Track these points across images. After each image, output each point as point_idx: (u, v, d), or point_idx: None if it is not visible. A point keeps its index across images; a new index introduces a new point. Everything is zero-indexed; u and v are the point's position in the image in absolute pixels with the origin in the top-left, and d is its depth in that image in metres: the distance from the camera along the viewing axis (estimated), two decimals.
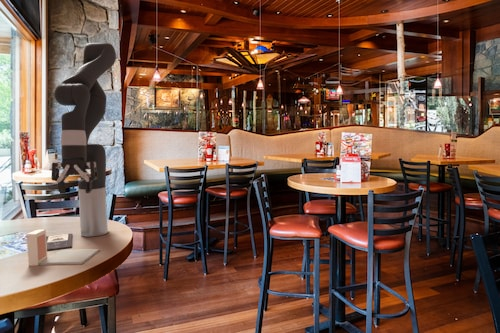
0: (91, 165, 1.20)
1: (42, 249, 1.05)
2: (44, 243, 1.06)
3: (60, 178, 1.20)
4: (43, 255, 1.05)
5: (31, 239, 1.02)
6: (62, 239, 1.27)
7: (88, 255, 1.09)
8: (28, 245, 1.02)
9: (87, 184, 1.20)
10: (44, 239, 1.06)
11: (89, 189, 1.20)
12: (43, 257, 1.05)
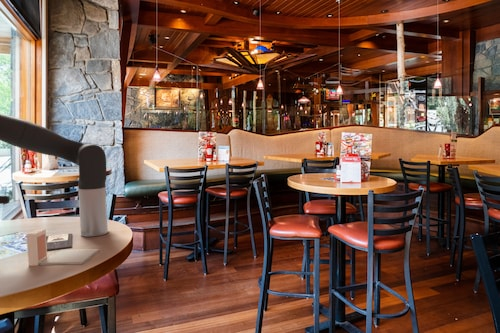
0: None
1: (42, 249, 1.05)
2: (44, 243, 1.06)
3: None
4: (43, 255, 1.05)
5: (31, 239, 1.02)
6: (62, 239, 1.27)
7: (88, 255, 1.09)
8: (28, 245, 1.02)
9: None
10: (44, 239, 1.06)
11: None
12: (43, 257, 1.05)
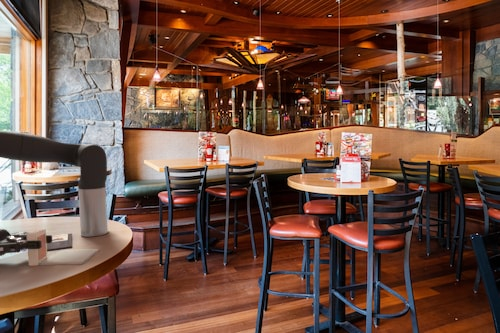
0: None
1: (42, 249, 1.05)
2: (44, 243, 1.06)
3: None
4: (43, 255, 1.05)
5: (31, 239, 1.02)
6: (62, 239, 1.27)
7: (88, 255, 1.09)
8: None
9: (30, 248, 1.01)
10: (45, 239, 1.06)
11: (35, 247, 1.01)
12: (43, 257, 1.05)
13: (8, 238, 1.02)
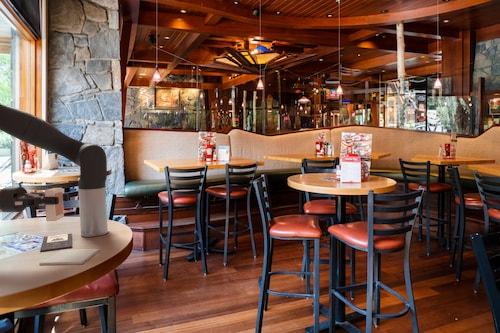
0: (20, 207, 1.02)
1: (59, 206, 1.08)
2: (61, 200, 1.09)
3: None
4: (59, 212, 1.08)
5: (49, 195, 1.05)
6: (62, 239, 1.27)
7: (88, 255, 1.09)
8: None
9: (47, 204, 1.04)
10: (61, 197, 1.09)
11: None
12: (60, 214, 1.08)
13: (27, 194, 1.05)
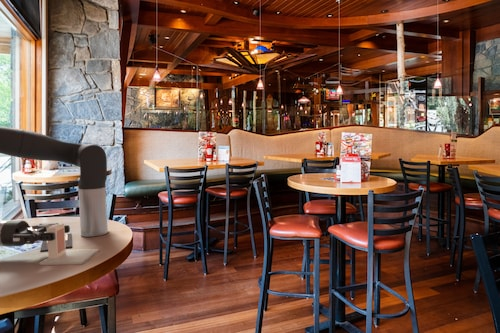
0: None
1: (61, 243, 1.09)
2: (63, 237, 1.10)
3: None
4: (62, 248, 1.09)
5: None
6: None
7: (88, 255, 1.09)
8: None
9: (43, 240, 1.04)
10: (63, 233, 1.10)
11: None
12: (62, 250, 1.09)
13: (27, 229, 1.06)
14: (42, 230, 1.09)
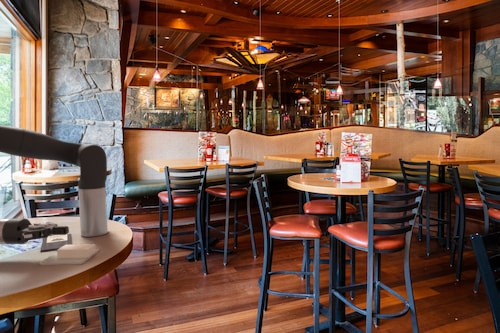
0: None
1: None
2: None
3: None
4: None
5: (82, 253, 1.06)
6: (61, 239, 1.27)
7: None
8: (76, 250, 1.06)
9: (56, 234, 1.08)
10: None
11: (61, 233, 1.07)
12: None
13: (32, 227, 1.06)
14: (37, 229, 1.07)
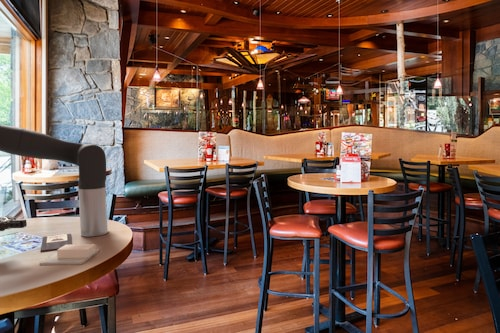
0: None
1: None
2: None
3: None
4: None
5: (82, 253, 1.06)
6: (61, 239, 1.27)
7: None
8: (76, 250, 1.06)
9: (14, 227, 1.08)
10: None
11: (18, 226, 1.07)
12: None
13: None
14: None
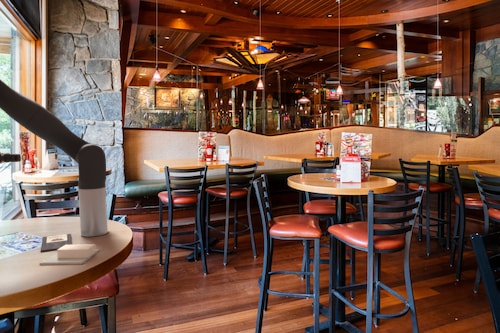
0: None
1: None
2: None
3: None
4: None
5: (82, 253, 1.06)
6: (61, 239, 1.27)
7: None
8: (76, 250, 1.06)
9: (8, 161, 1.06)
10: None
11: (12, 160, 1.05)
12: None
13: None
14: None
